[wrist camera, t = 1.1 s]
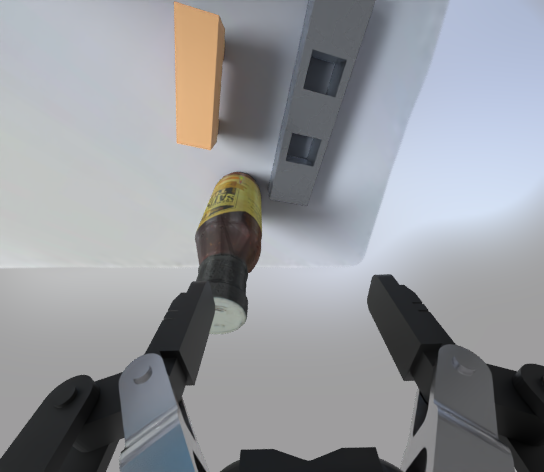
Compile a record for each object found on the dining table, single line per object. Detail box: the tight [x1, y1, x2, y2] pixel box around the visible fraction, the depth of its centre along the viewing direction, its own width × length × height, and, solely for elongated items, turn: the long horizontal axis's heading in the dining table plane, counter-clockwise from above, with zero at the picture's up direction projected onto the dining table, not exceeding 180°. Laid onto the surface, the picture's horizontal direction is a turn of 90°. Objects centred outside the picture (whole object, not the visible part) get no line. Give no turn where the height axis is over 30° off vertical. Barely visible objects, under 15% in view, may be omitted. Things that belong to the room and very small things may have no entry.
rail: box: [268, 0, 375, 206], centre depth 24 cm, size 5×20×4 cm, turn 168°
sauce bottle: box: [195, 172, 262, 334], centre depth 22 cm, size 7×6×20 cm
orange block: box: [174, 1, 225, 150], centre depth 20 cm, size 3×9×7 cm, turn 167°
